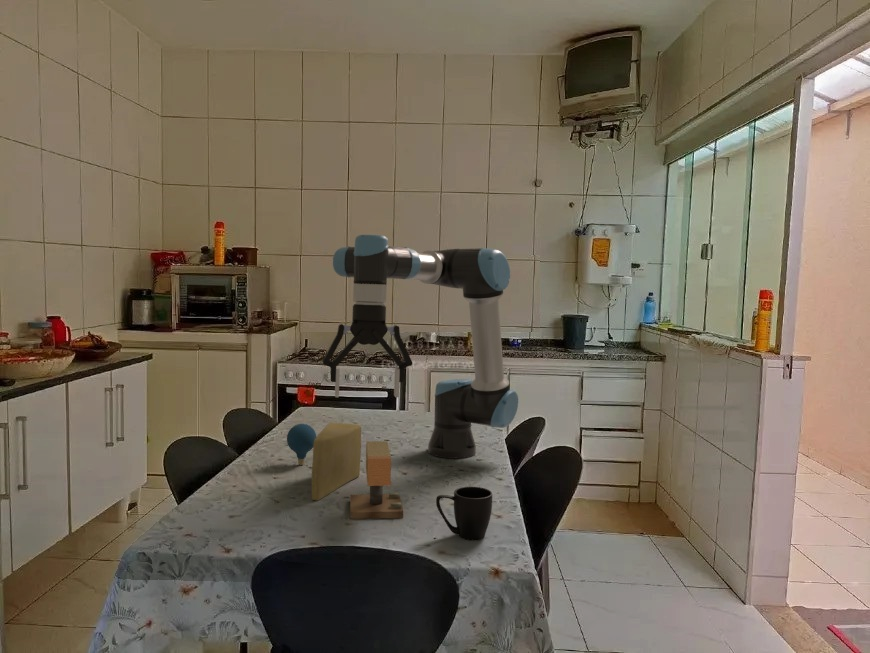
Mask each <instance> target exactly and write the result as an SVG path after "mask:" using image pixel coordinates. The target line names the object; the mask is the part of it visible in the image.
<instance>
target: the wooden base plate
mask: <svg viewBox="0 0 870 653" xmlns="http://www.w3.org/2000/svg"><path fill="white" fill-rule="evenodd" d="M383 487H384V486H369V494H350V496H349V500H350V501H349V506H350V507H349V510H350V511H349V512H350V514H349V515H350V516H349V517H350V518H349V519H350V520H351V519H352V520H353V519H355V520H356V519H358V520H361V519H403V518H404V509H403V504H402V503H403V502H402V499H401V495H400V492H388V493H383V492H384V488H383Z"/></svg>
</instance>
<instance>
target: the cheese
mask: <svg viewBox="0 0 870 653" xmlns="http://www.w3.org/2000/svg"><path fill="white" fill-rule="evenodd" d="M361 458H362V426H361V425H360V424H357V423H346V422H345V423H344V422H329V423H327V424H326V426H324V428H323V429H322V430H321V431H320V432H319V434H318V435H316V438H315V440H314V445H313V448H312V463H311V464H312V467H311V500H312V501H320V500H322V499H323V498H325V497H326V496H328V495H330V494H331V493H333V492H334V491H336V490H337V489H339V488H341V487H342V486H344V485H346V484H347V483H349V482H351V481H353V480H354V479H357V478H359V476H360V471H361Z"/></svg>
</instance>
